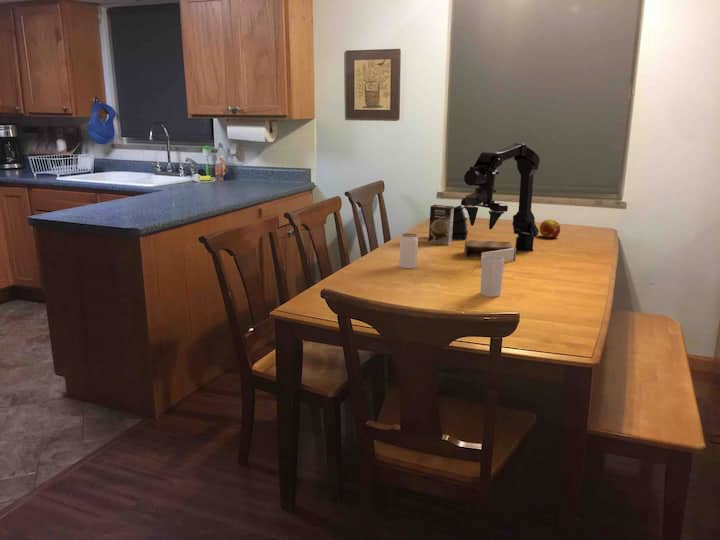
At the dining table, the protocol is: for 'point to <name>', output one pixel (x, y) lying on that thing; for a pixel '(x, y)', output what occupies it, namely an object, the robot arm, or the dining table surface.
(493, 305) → the dining table surface
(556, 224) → the fruit
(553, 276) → the dining table surface
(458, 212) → the black piece
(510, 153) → the robot arm
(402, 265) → the can
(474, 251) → the walnut box
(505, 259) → the door
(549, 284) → the dining table surface
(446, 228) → the coffee box
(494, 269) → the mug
